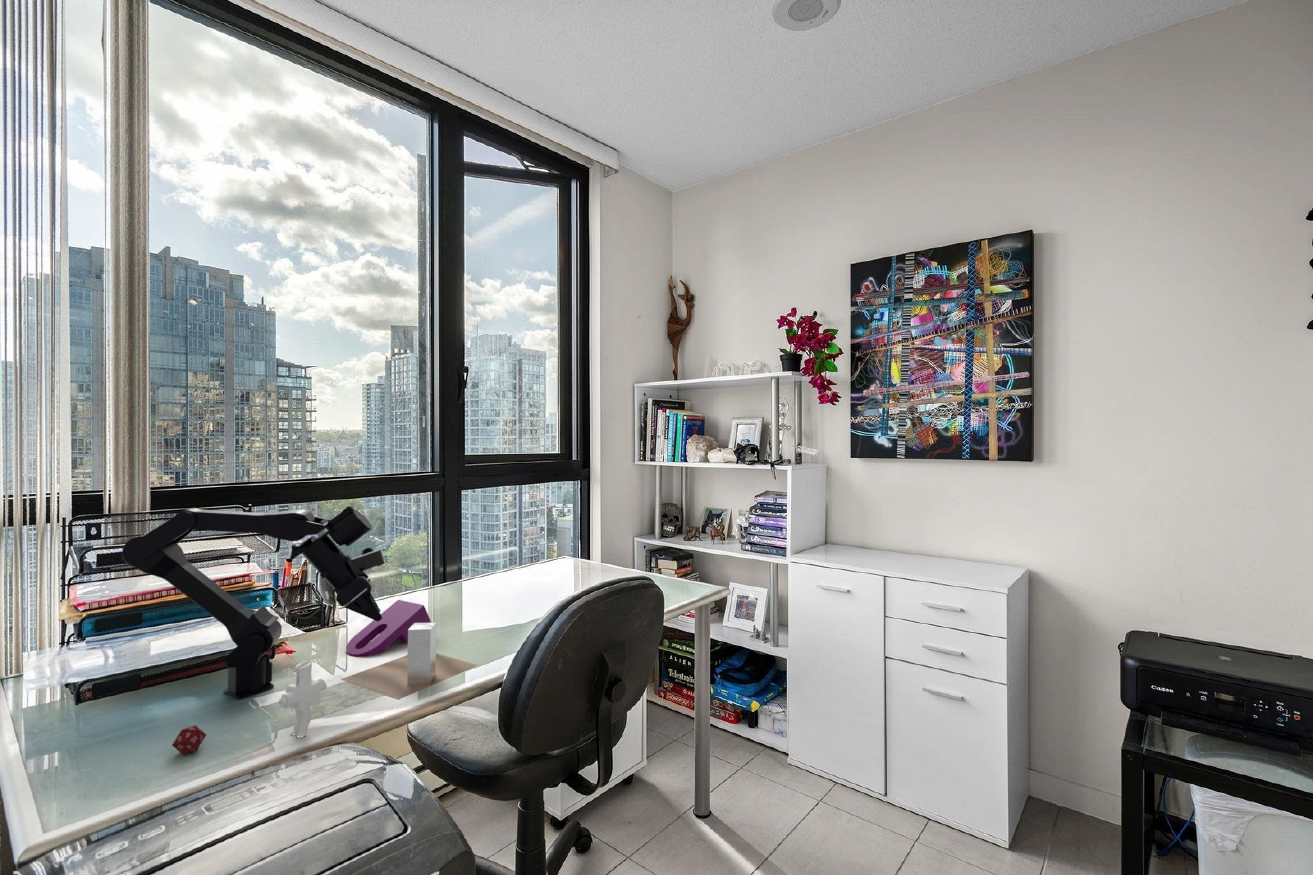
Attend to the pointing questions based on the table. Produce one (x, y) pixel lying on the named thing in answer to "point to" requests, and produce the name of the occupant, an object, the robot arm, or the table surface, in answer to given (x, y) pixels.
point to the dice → (189, 740)
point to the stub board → (404, 676)
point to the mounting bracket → (387, 629)
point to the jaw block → (421, 653)
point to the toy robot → (302, 696)
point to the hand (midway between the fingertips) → (379, 616)
